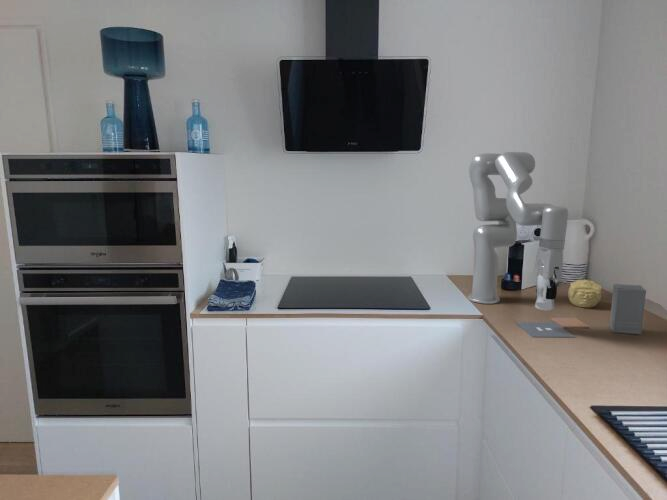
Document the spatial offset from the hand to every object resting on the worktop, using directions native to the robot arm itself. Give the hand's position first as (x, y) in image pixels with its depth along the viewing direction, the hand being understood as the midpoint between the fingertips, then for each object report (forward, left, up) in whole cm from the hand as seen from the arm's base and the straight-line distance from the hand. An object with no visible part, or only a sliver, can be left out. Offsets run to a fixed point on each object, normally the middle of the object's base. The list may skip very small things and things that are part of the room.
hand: (545, 295), depth 152 cm
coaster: (-5, +12, -12) cm, 18 cm away
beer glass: (0, 0, -5) cm, 5 cm away
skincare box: (+2, +27, -12) cm, 30 cm away
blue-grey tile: (+1, 0, -12) cm, 12 cm away
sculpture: (-27, +29, -12) cm, 42 cm away
